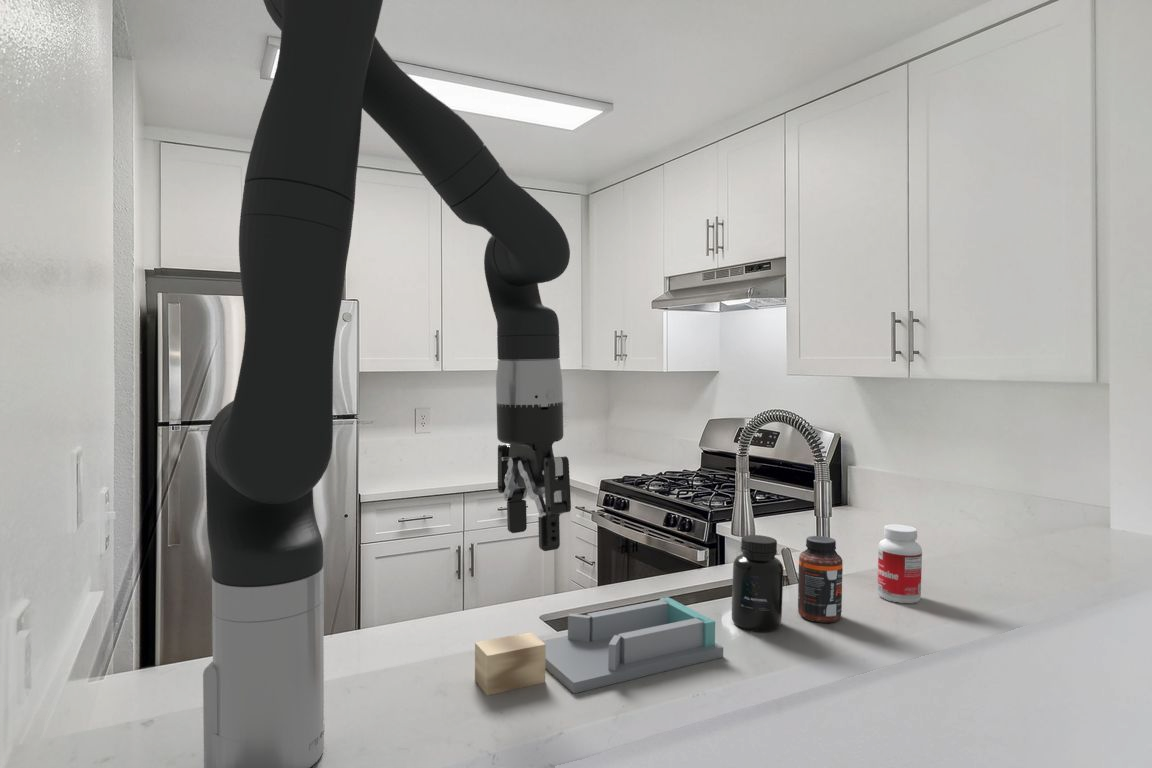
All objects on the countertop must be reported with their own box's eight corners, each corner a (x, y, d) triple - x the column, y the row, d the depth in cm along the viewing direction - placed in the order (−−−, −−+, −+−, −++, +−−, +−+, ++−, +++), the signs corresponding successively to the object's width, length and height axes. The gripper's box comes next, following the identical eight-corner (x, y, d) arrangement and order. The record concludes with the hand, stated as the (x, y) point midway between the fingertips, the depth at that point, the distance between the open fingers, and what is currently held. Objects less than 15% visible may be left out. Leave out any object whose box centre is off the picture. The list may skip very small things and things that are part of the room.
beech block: (487, 696, 76) (487, 655, 76) (474, 681, 80) (475, 642, 80) (545, 683, 80) (545, 644, 79) (531, 669, 83) (531, 632, 83)
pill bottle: (869, 592, 112) (870, 523, 111) (903, 590, 113) (905, 522, 112) (893, 605, 106) (895, 533, 105) (929, 603, 107) (931, 531, 106)
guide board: (573, 693, 77) (573, 655, 77) (528, 652, 87) (528, 619, 87) (723, 656, 87) (723, 623, 87) (666, 624, 97) (666, 594, 97)
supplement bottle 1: (747, 635, 94) (748, 546, 93) (722, 617, 100) (724, 534, 100) (792, 630, 96) (793, 543, 95) (765, 613, 102) (766, 531, 102)
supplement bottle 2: (844, 626, 97) (846, 545, 97) (800, 622, 98) (801, 542, 98) (837, 611, 103) (839, 534, 103) (795, 608, 104) (797, 532, 104)
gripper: (475, 397, 84) (479, 531, 85) (526, 405, 71) (529, 561, 72) (532, 394, 87) (535, 522, 88) (589, 401, 75) (592, 550, 76)
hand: (532, 540), depth 80 cm, fingers open, 8 cm apart
